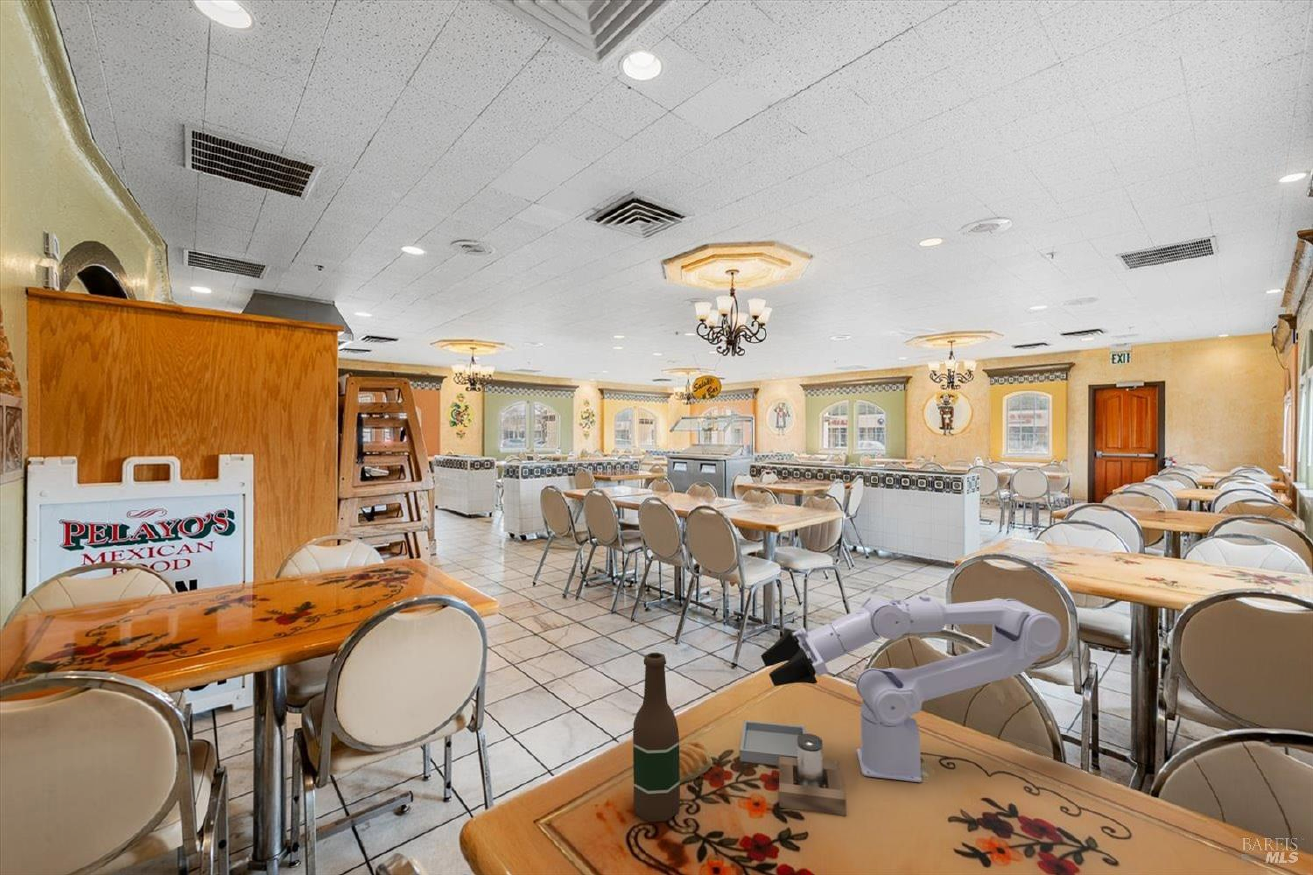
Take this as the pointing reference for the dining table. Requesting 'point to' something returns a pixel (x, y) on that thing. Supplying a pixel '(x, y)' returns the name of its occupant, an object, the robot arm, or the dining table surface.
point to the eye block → (811, 789)
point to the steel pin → (810, 760)
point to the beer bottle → (656, 748)
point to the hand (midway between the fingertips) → (767, 670)
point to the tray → (768, 742)
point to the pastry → (693, 761)
